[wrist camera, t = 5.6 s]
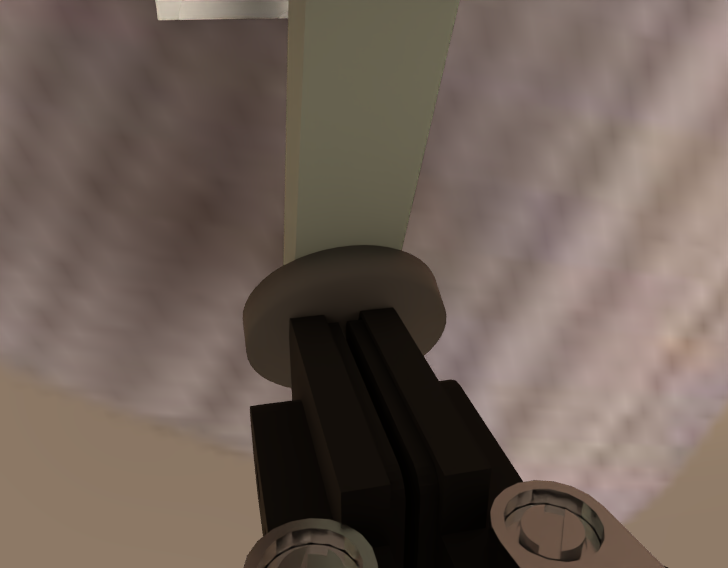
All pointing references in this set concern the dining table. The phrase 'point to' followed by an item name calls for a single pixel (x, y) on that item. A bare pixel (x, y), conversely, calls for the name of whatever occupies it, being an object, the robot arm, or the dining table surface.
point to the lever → (353, 171)
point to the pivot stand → (221, 9)
